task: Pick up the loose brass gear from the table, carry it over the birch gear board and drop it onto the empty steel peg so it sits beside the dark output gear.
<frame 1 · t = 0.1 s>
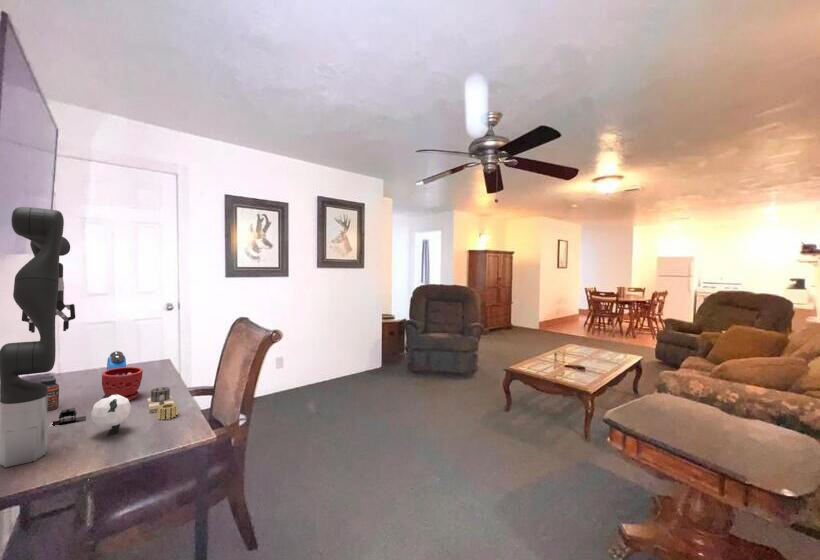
hand: (49, 331, 135), 29 cm above the table, tool pointing down, fingers open, 8 cm apart
figurine: (111, 433, 118), on the table
alarm clock: (116, 385, 164), on the table
supplement bottle: (47, 409, 135), on the table
brass gear: (167, 416, 132), on the table
plant pot: (122, 399, 147), on the table
black flared hood: (67, 423, 125), on the table
gear board: (160, 405, 142), on the table
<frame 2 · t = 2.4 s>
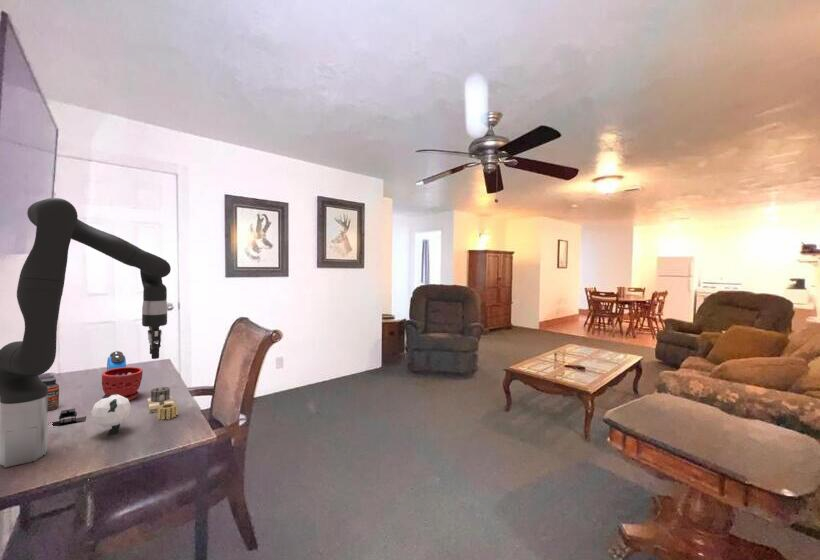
hand: (154, 356, 131), 23 cm above the table, tool pointing down, fingers open, 8 cm apart
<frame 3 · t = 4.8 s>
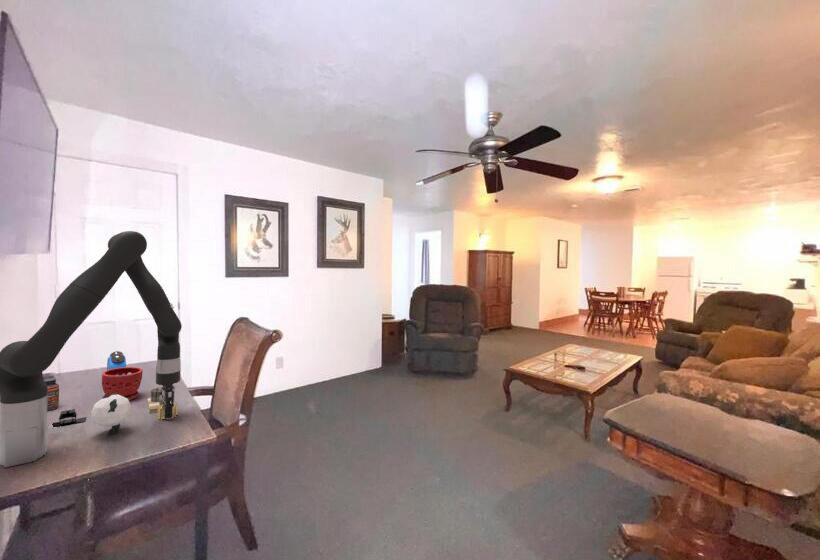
hand: (167, 414, 132), 1 cm above the table, tool pointing down, fingers closed on brass gear, 6 cm apart
brass gear: (167, 416, 132), on the table, touching gripper
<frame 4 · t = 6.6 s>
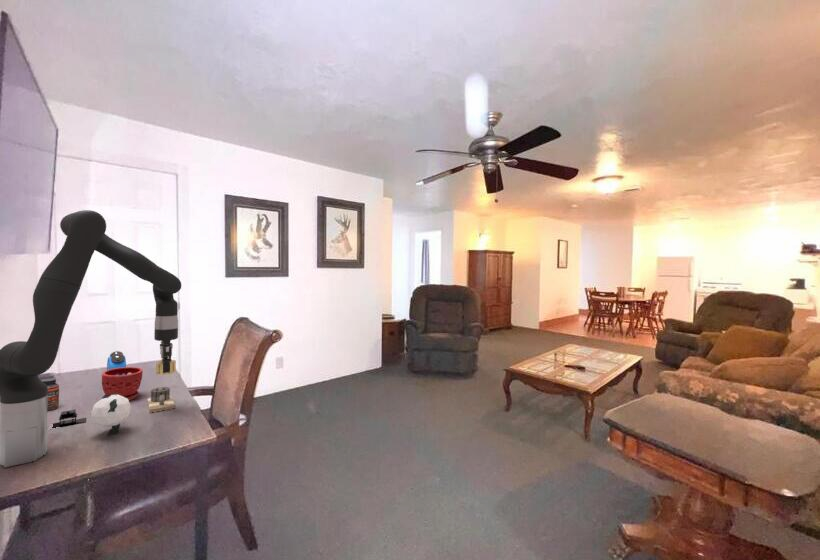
hand: (165, 369, 137), 16 cm above the table, tool pointing down, fingers closed on brass gear, 6 cm apart
brass gear: (165, 372, 137), point 15 cm above the table, touching gripper
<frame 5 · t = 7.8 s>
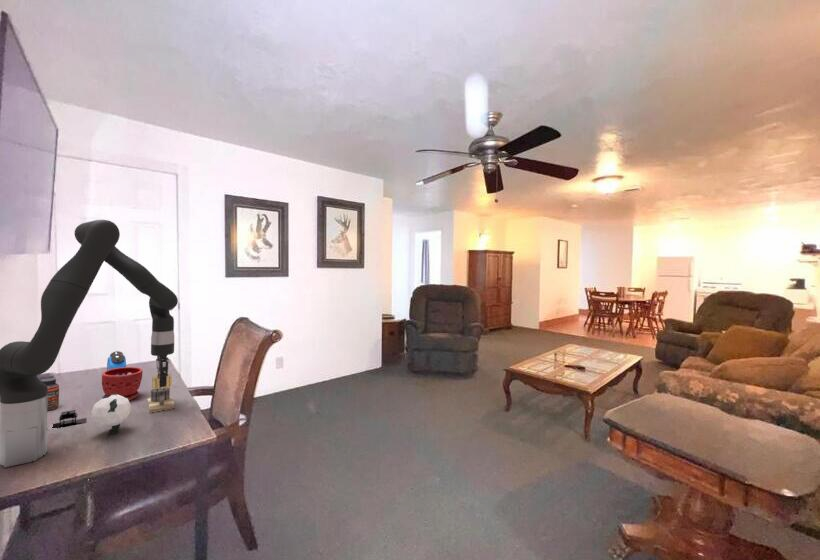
hand: (162, 384, 140), 10 cm above the table, tool pointing down, fingers closed on brass gear, 6 cm apart
brass gear: (162, 386, 140), point 9 cm above the table, touching gripper
when the fingers open (7 cm above the table, at t = 8.8 s): brass gear drops 4 cm, resting on gear board.
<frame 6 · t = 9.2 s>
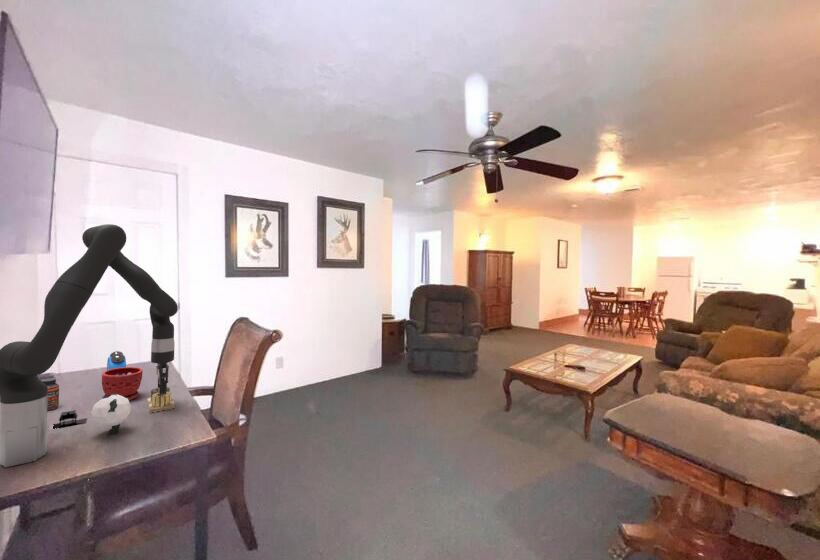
hand: (162, 390, 139), 7 cm above the table, tool pointing down, fingers open, 8 cm apart
brass gear: (161, 404, 140), point 1 cm above the table, touching gear board
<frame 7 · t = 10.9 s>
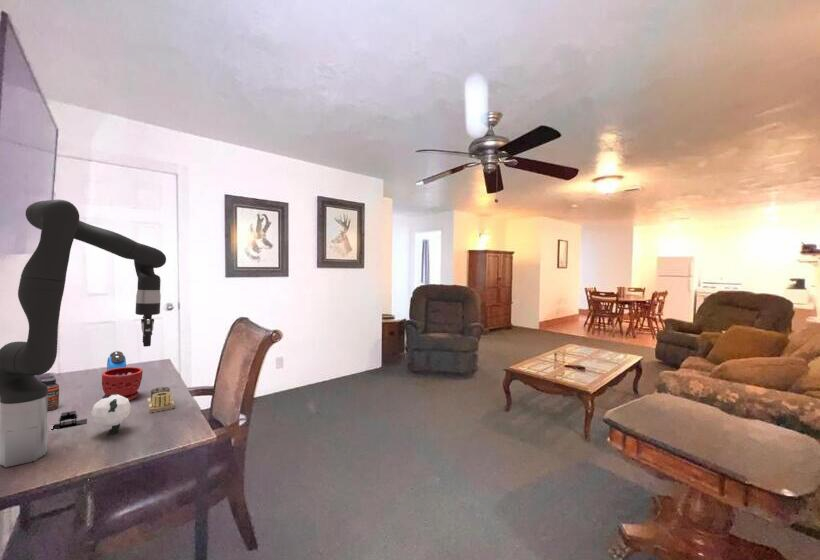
hand: (146, 344, 135), 26 cm above the table, tool pointing down, fingers open, 8 cm apart
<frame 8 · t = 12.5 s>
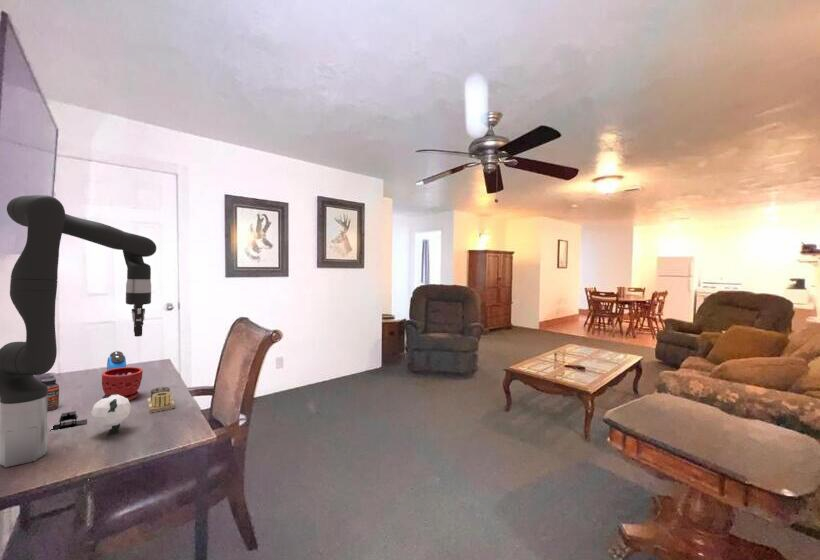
hand: (137, 334, 133), 30 cm above the table, tool pointing down, fingers open, 8 cm apart
at the end: brass gear 0.1 cm from the target spot on the gear board, point 1.5 cm above the gear board's base; brass gear tilted 0°; the gripper is holding nothing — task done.
